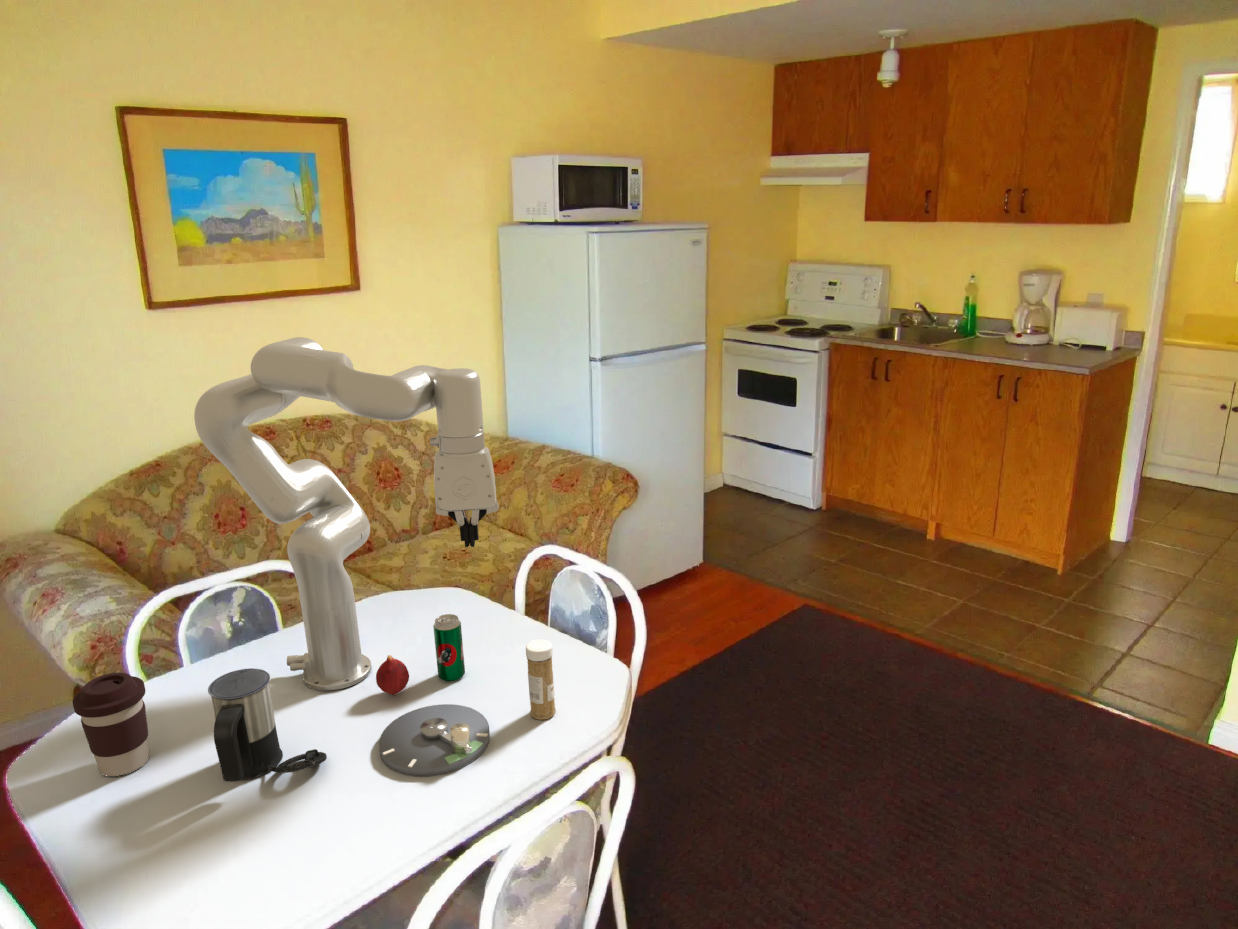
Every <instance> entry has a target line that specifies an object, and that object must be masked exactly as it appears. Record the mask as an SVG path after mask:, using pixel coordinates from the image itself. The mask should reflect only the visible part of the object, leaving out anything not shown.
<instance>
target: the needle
mask: <svg viewBox="0 0 1238 929" xmlns="http://www.w3.org/2000/svg"><path fill="white" fill-rule="evenodd" d="M420 729H421V736H422V737H423V738H425V739H428V740H435V739H439V738H440V739H442V740H444V741H445V742H447V743H449V744H450V745H452V751H453V752H454V753H458V754H461V753H465V754H468V753H470V752H471V751H472V747H471V743H470V732H469V726H468V725H467V724H465V723H458V724H455V725H453V726H452V727H451V728H450V734H451V735H450V734H448V733H447V732H448V725H447V721H446V720H444V719H441V718H432V719H429V720H426V721H425V722H423V723H422V724H421V726H420Z"/></svg>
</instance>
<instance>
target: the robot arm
mask: <svg viewBox="0 0 1238 929" xmlns="http://www.w3.org/2000/svg"><path fill="white" fill-rule="evenodd" d="M354 368H355V367H354V364H353V362H352V360H351V358H350V357H349V356H348V355H347V354H346V353H343V352H338V351H332V350H331V351H330V350H325V349H324V348H323V347H322V345H320V344H319V343H318V342H317V341H315V340H314V339H311V338H309V337H304V336H302V337H301V336H299V337H292V338H288V339H285V340H281V341H277V342H273V343H270V344H269V343H268V344H266V345H265V346H263V347H261V348H260V349H258V350H257V351H256V352H255V354H254V355H253V357H252V359H251V362H250V374H248V375H244V376H242V377H239V378H234V379H231V380H227V381H225V382H222V383H219V384H217V385H215V386H212V387H210V388H209V389H208V390H206V391H205V392H204V393H203V394H202V395H201V396H200V397H199V399H198V400H197V403H196V405H195V407H194V413H193V414H194V417H193V418H194V426H195V429H196V432H197V434H198V437H199V439H200V441H201V442H202V444H203V445H204V446H205V448H206V449H207V450H209V452H210V453H211V454H212V455H213V456H214V457H215V458H216V459H217V460H218V461H219V462H220V463H221V464H222V465H223V466H224V467H225V468H226V469H227V470H228V471H229V472H230V474H231V475H232V476H233V478H234V479H235V480H236V482H237V483H238V484H239V485H240V486H241V488H242V490H244V491H245V493H246V494H247V495H248V496H249V498H250V499H251V500H252V501H253V502H254V504H255V505H256V506H257V507H258V509H259V510H260V511H261V513H262V514H264V516H265V517H266V518H268V519H269V520H270V522H273V523H275V524H281V525H282V524H283V525H284V524H289V523H291V522H294V521H296V520H298V519H299V518H301V517H303V516H305V515H306V514H308V513H310V515H311V516H312V518H310V519H308V520H306V521H305V522H304V523H302V524H301V525H300V526H298V527H297V528H296V529H295V530H294V531H293V532H292V533H291V535H290V536H289V537H290V538H289V540H288V542H287V548H286V553H287V558H288V560H289V562H290V565H291V567H292V571H293V573H294V577H295V580H296V584H297V589H298V594H299V601H300V608H301V613H302V620H303V628H304V633H305V641H306V648H307V652H304V654H303V655H302V654H301V655H297V654H296V655H295V654H294V655H292V654H291V655H288V656H287V657H286V665H287V667H289V670H290V671H291V672H292V671H293V672H294V671H303V672H302V681H303V684H305V686H306V687H308V688H310V689H312V690H315V691H327V692H328V691H337V690H342V689H343V690H344V689H346V688H350V687H352V686H354V685H357V684H358V683H360V682H361V681H364V679H365V678H367V677H368V676H369V675H370V673H371V671H372V661H371V660H370V658H369V657H368V656H366V655H364V654H362V648H361V647H362V646H361V640H360V633H359V632H360V630H359V624H358V616H357V609H356V608H357V607H356V599H355V593H354V592H355V591H354V586H353V582H352V579H351V577H350V575H349V573H348V572H347V570H346V569H345V566H344V560H346V558H348V557H349V556H350V555H351V554H353V553H354V552H356V551H357V550H358V549H360V548H361V547H362V546H363V545H364V544H365V543H366V542H367V540H368V539H369V537H370V534H371V525H370V520H369V517H368V516H367V514H366V513H365V511H364V510H363V508H362V506H360V504H359V503H358V502H357V500H356V499H355V498H354V496H352V494H351V493H350V492H349V490H348V489H347V488H346V486H345V485H344V484H343V483H342V481H341V480H340V479H339V478H338V477H337V475H336V474H335V473H334V472H333V471H332V469H331V468H329V467H328V466H327V465H326V464H324V463H323V462H321V461H319V460H316V459H312V458H311V459H310V458H303V459H299V460H297V461H293V462H291V463H287V461H286V460H284V458H283V457H282V456H281V455H280V454H279V453H278V451H277V450H276V448H274V446H273V444H270V442H268V440H266V439H265V438H263V437H261V436H260V435H258V434H256V433H254V432H253V431H251V430H250V429H249V426H251V425H253V424H255V423H259V422H261V421H264V420H266V419H269V418H272V417H274V416H276V415H278V414H279V413H282V412H283V411H284V410H286V409H287V408H288V407H290V406H291V405H292V404H293V403H294V402H295V401H297V399H299V398H300V397H304V398H309V399H315V400H318V401H324V402H325V401H326V402H330V403H334V404H335V405H337V406H338V407H339V408H341V409H343V410H344V411H346V412H347V413H349V414H351V415H354V416H357V417H363V418H367V419H373V420H374V419H375V420H378V421H379V420H380V421H387V422H404V421H408V420H410V419H412V418H414V417H416V416H417V415H420V414H421V413H423V412H427V411H429V410H430V411H431V410H433V409H434V408H435V409H436V419H437V420H436V421H437V422H436V424H437V431H438V432H437V433H438V434H437V435H436V436H434V437H430V438H429V439H430V440H429V443H430V446H431V447H432V446H434V447H437V448H438V450H437V451H436V452H435V454H434V463H433V465H434V466H433V473H434V474H433V478H434V479H433V480H434V481H433V482H434V484H433V486H434V498H435V499H434V500H435V506H436V508H435V513H436V515H439V516H445V517H449V518H451V520H453V521H454V522H456V524H457V525H458V526H459V534H460V535H459V536H460V542H464V548H469V547H470V548H475V546H476V544H475V543H476V541H479V539H480V538H479V537H480V536H479V522H480V521H481V520H483V518H484V517H485V516H486V515H487V514H492V513H495V512H498V511H499V508H500V506H499V502H498V500H497V487H496V486H497V484H496V477H495V476H496V475H495V470H494V464H493V459H492V456H491V451H490V449H489V447H487V446H486V445H485V444H486V443H485V430H484V429H485V428H484V416H483V414H484V413H483V402H482V400H483V399H482V390H481V388H482V387H481V379H480V375H479V373H478V371H475V370H474V369H472V368H471V369H470V368H461V367H460V368H449V369H448V368H442V367H437V366H432V365H431V366H430V365H425V364H423V365H422V364H421V365H415V366H412V367H410V368H407V369H404V370H402V371H399V372H397V373H394V374H392V375H384V374H377V373H376V374H375V373H371V372H365V371H360V370H356V369H354ZM465 511H466V512H467V511H471V517H470V518H469V520H468V518H467V517H466V513H465Z"/></svg>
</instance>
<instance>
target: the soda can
mask: <svg viewBox="0 0 1238 929" xmlns="http://www.w3.org/2000/svg"><path fill="white" fill-rule="evenodd" d="M433 637H434V648H435V657H436V666H437V677H438V678H439V679H440V680H442V681H443V682H447V683H450V682H451V683H452V682H453V683H454V682H456V681H459V680H461V679H462V678H463V677H464V676H465V674H466V668H465V667H466V666H465V657H464V656H465V655H464V647H463V646H464V644H463V633H462V622H461V621H460V619H459V616H458V615H456V614H452V613H446V614H442V615H438V616H437V617H436V618H435V620H434V624H433Z"/></svg>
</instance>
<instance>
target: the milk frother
mask: <svg viewBox="0 0 1238 929" xmlns="http://www.w3.org/2000/svg"><path fill="white" fill-rule="evenodd" d="M270 680H271V675H270V673H269V672H267V671H266V670H264V669H261V668H251V667H250V668H241V669H237V670H233V671H229V672H227V673H224V674H222V675H220V676H219V677H217V678H215V679H214V680H213V681H212V682H211V683H210V684H209V686H208V687H207V693H208V695H210V697H211V703H212V707H213V713H214V720H215V721H214V725H213V741H214V745H215V746H214V747H215V750H216V754H217V758H218V762H219V766H220V767H219V768H220V770H221V774H222V779H223V781H224V782H227V783H230V782H231V783H232V782H233V783H234V782H239V781H241V780H242V781H243V780H250V779H251V780H252V779H256V778H259V777H262V776H264V775H266V774H268V773H270V772H273V773H277V774H278V773H279V774H280V773H283V774H285V773H286V774H287V773H294V772H295V773H296V772H299V771H302V770H306V769H308V768H309V769H310V768H312V767H316V766H319V765H321V764H322V763H324V762H325V761H327V758H328V757H327V754H326V753H325V752H322V751H318V749H311V750H310V749H309V750H307V751H306V752H305V753H301V754H299V755H295V756H293V757H289V758H288V759H286V760H284V761H282V760H283V756H284V753H283V751H282V748H281V747H280V741H279V737H278V733H277V732H278V731H277V726H276V720H275V713H274V707H273V701H272V694H271V688H270ZM303 760H304V762H303V763H300V764H295V763H297V762H300V761H303ZM292 764H294V765H292Z"/></svg>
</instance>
